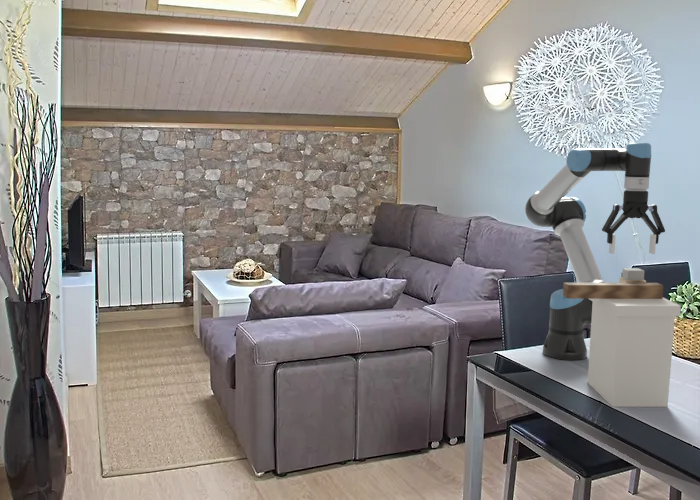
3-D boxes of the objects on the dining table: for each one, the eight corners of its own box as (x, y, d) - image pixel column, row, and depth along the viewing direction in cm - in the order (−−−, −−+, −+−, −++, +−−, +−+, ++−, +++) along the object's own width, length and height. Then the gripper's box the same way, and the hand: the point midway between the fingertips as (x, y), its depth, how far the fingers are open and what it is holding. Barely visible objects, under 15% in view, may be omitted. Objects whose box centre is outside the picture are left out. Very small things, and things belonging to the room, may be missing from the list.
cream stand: (610, 408, 194) (616, 305, 189) (583, 381, 216) (588, 289, 211) (672, 408, 194) (680, 306, 190) (639, 381, 216) (646, 289, 211)
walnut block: (567, 298, 198) (567, 285, 198) (562, 295, 202) (563, 282, 202) (662, 298, 199) (663, 285, 198) (656, 295, 202) (657, 282, 202)
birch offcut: (625, 293, 205) (626, 280, 205) (618, 290, 210) (619, 277, 210) (645, 293, 205) (646, 280, 205) (638, 290, 210) (639, 277, 210)
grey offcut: (627, 280, 205) (628, 270, 205) (622, 277, 209) (622, 268, 209) (643, 280, 205) (644, 270, 205) (638, 277, 209) (638, 268, 209)
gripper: (603, 190, 220) (599, 255, 223) (679, 190, 221) (674, 255, 224) (594, 189, 228) (590, 251, 231) (668, 189, 228) (663, 251, 231)
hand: (631, 253), depth 227 cm, fingers open, 13 cm apart
